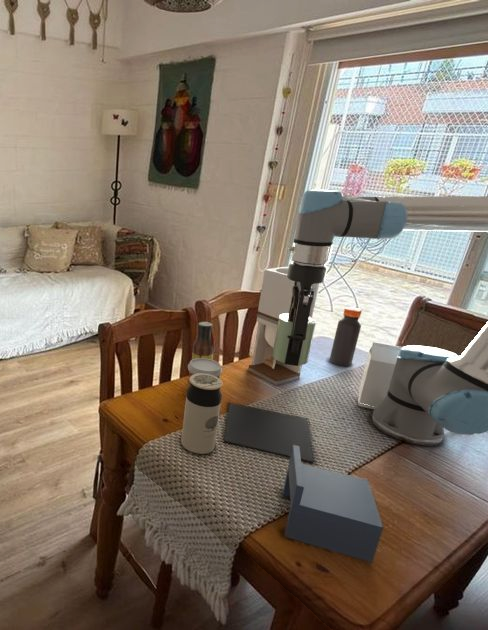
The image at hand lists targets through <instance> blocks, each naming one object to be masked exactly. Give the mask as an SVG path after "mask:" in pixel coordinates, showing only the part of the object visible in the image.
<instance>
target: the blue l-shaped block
mask: <svg viewBox="0 0 488 630" xmlns="http://www.w3.org/2000/svg"><path fill="white" fill-rule="evenodd" d="M285 475H286V476H285V478H284V483H283V489H282V496H283V497H287V498H290V507H289V512H288V517H287V521H286V525H285V530H284V538H287V539H291V540H294V541H298V542H300V543H305V544H307V545H310V546H315V547H318V548H320V549H323V550H327V551H331V552H334V553H337V554H340V555H344V556H348V557H351V558H354V559H358V560H361V561H364V562H367V563H371V564H372V563H373V561H374V558H375V555H376V552H377V549H378V545H379V543H380V539H381V536H382V533H383V530H384V525H383V522H382V518H381V515H380V512H379V510H378V507H377V503H376V500H375V497H374V495H373V490H372V488H371V485H370V482H369V479H367V478H362V477H358V476H354V475H351V474H346V473H342V472H337V471H333V470H329V469H324V468H321V467H316V466H313V465H312V466H311V465H308V464H304V463H302V460H301V456H300V448H299V446H296V445H293V447H292V451H291V456H290V457H289V461H288V465H287V470H286V474H285Z"/></svg>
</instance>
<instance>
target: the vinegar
mask: <svg viewBox="0 0 488 630" xmlns="http://www.w3.org/2000/svg"><path fill="white" fill-rule="evenodd" d="M342 314H343V318H341V319H339V320H338V322H337V325H336V330H335V335H334V337H333V343H332V347H331V351H330V355H329V362H330V363H332V364H334V365H336V366H339V367H350V366H352V364H353V360H354V355H355V352H356V348H357V344H358V339H359V335H360V332H361V328H362V324H361V322H360V321H359V319H360V317H361V315H362V309H361V308H358V307H353V306H345V307H344V310H343V313H342Z"/></svg>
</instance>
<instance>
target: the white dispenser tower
mask: <svg viewBox="0 0 488 630" xmlns="http://www.w3.org/2000/svg"><path fill="white" fill-rule="evenodd" d="M288 267H289V265H287V266H281V267H280V266H279V267H271V268H266V269H264V272H263V279H262V284H261V290H260V296H259V302H258V308H257V314H256V321H255V322H258V323H257V329H256V336H255V342H254V348H253V354H252V360H251V364H248V368H247V371H249V372H251V373H252V374H254V375H256V376H258V377H260V378H262V379H264V380H266V381H267V382H269V383H271V384H274V385H275V386H277V385H282V384H285V383H288V382H292V381H296V380H299V379H300V377H301V373H302V368H303V365H298V366H294V365H288V364H285V363H282V362H280V361H277V360H276V359H274V358H273V356H272V354H273V348H274V342H275V337H276V331H277V326H278V320H279V316H280V315H281V314H286V313H289V309H290V304H291V298H292V294H293V293H292V289H293V286H294V282H295V281H292V280H290V279H288V278H287V273H288ZM319 287H320V283H319V284H316V283H315V284H312V288H313V290H312V291H314V296H313V300H312V304H311V309H310V314H309V317H311V318H313V315H314V310H315V306H316V301H317V295H318V291H319Z"/></svg>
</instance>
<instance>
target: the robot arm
mask: <svg viewBox="0 0 488 630" xmlns="http://www.w3.org/2000/svg"><path fill="white" fill-rule="evenodd" d="M295 224H296V225H295V230H294V231H295V232H294V237H293V243H292V246H291V245H290V246H289V247H288V250H289V251H290V260H291V261H290V262H289V263H288V266H289V267H288V266H287V267H288V273H287V278H288V279H290V280H292V281H295V282H294V286H293V289H292V293H293V294H292V298H291V304H290V309H289V313H291V314H294V318H293V326H292V333H291V336H289V335H288V336H287V338H289V343H288V348H287V353H286V358H285V364H288V365H294V366H298V363H299V358H300V353H301V349H302V344H303V340H305V339H306V331H307V325H308V320H309V314H310V309H311V304H312V300H313V296H314V291H312V290H313V288H312V284H315V283H316V284H319V285H320V284H323V283H324V282H325V281H326V276H327V272H328V266H327V265H328V264H329V262H330V258H331V254H332V250H333V245H334V239H335V237H337V238H357V239H358V238H359V239H374V240H375V239H376V240H386V239H387V240H388V239H389V240H392V239H395V238H397V237H399V236H400V235H401V234H402V232H403V231H433V232H434V231H435V232H436V231H437V232H438V231H439V232H441V231H442V232H488V196H485V195H484V196H482V195H481V196H480V195H478V196H477V195H473V196H467V195H466V196H465V195H463V196H461V195H460V196H457V195H455V196H454V195H453V196H451V195H450V196H449V195H448V196H446V195H445V196H443V195H441V196H434V195H433V196H432V195H431V196H352V195H347V194H345V195H343V192H342V191H340V190H334V189H333V190H332V189H308V190H306V191H304V192H303V194H302V195H301V199H300V203H299V207H298V210H297V218H296V223H295ZM402 347H403V348H402V349H401V350H400V352H399V354H398V357H397V358H396V359H397V361H396V364H395V368H394V371H393V375H392V379H391V382H390V386H389V389H388V393H387V396H386V397H385V398H384V399H383V401H382V402H381V403H380V404H379V405H378V407H377V408H376V409H375V410H374V409H373V412H372V415H371V422H372V424H373V426H375V427H376V428H377V429H378V430H379V431H381V432H382V433H384V434H385V435H387V436H389V437H391V438H393V439H396V440H399V441H402V442H403V443H408V444H411V445H417V446H425V447H429V446H430V447H431V446H437V445H439V444H441V443H442V441H443V439H444V437H445V430H447V431H449V432H451V433H454V434H456V435H457V434H458V435H464V436H471V435H475V434H478V435H479V434H483V433H484V434H485V433H487V432H488V321H487V322H486V324H485V325H484V326H483V327H482V328H481V330H480V331H479V332H478V334H477V335H476V336H475V337H474V339H473V340H471V342H470V343H469V344H468V346H467V347H466V348H465V350H464V351H463V352H462V353H461V355H458V354H457V353H455V352H452V351H449V350H446V349H443V348H438V347H433V346H425V345H415V344H413V345H405V346H402Z"/></svg>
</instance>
